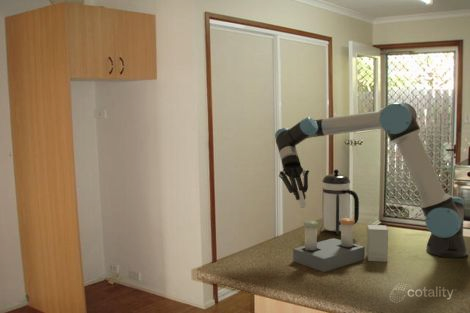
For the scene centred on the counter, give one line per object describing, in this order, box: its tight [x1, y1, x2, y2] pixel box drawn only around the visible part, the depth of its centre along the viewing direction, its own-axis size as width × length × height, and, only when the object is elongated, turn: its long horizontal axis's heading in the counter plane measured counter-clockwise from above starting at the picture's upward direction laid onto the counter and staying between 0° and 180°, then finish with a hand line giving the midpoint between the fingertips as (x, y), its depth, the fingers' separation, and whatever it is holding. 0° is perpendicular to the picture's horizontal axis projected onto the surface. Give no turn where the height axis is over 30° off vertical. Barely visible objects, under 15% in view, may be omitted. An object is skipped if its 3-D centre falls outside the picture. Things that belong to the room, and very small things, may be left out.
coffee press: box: [319, 169, 360, 236], centre depth 225 cm, size 17×16×30 cm
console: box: [292, 237, 366, 273], centre depth 186 cm, size 16×23×5 cm
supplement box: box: [366, 224, 389, 263], centre depth 186 cm, size 7×7×13 cm
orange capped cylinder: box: [340, 217, 355, 247], centre depth 187 cm, size 6×6×10 cm
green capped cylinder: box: [302, 220, 319, 250], centre depth 183 cm, size 6×6×10 cm
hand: (303, 205), depth 188 cm, fingers closed
